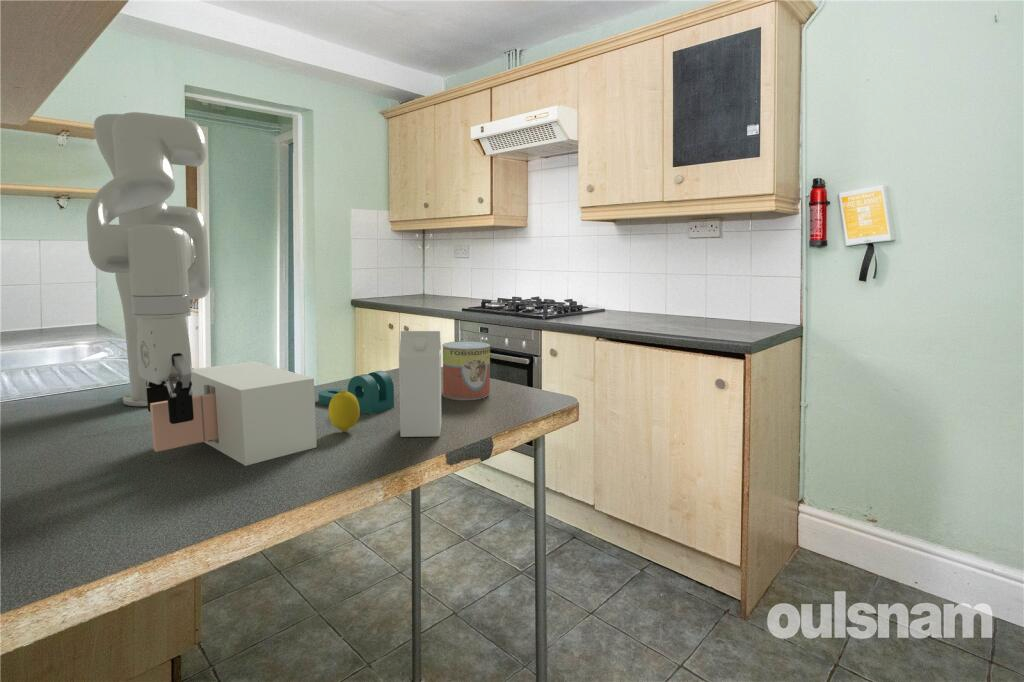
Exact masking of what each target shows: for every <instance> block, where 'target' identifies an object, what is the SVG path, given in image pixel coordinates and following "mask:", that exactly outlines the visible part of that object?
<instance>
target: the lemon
mask: <svg viewBox="0 0 1024 682" xmlns="http://www.w3.org/2000/svg"><path fill="white" fill-rule="evenodd" d="M360 413H361V412H360V408H359V403H358V400H357V398H356V397H355V396H354V395H353V394H352V393H350V392H347V391H346V390H342V391H341V392H339V393H337V394H336V395H334V396H333V398H332V399H331V401H330V404H329V406H328V418H329V421H330V423H331V425H332V426H333V427H335V428H337V429H339V430H341V432H342V433H343V432H344V433H346V432H348V431H349V429H351V428H353V427H354V426H355V425H356V424H357V423H358V421H359V418H360Z"/></svg>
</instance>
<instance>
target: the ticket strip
mask: <svg viewBox="0 0 1024 682" xmlns="http://www.w3.org/2000/svg"><path fill="white" fill-rule="evenodd" d="M192 400H193V414H194V419H193V420H192V421H187V422H182V423H176V424H171V423H170V422H169V411H168V401H162V402H155V403H150V411H151V412H150V422H151V434H152V443H153V444H152V445H153V451H154V452H156V453H157V452H161V451H166V450H171V449H175V448H176V449H177V448H180V447H185V446H189V445H194V444H199V443H205V442H204V441H209V440H213V439H218V423H217V408H216V393H211V394H205V395H199V396H193V397H192Z"/></svg>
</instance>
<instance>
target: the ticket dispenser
mask: <svg viewBox="0 0 1024 682" xmlns="http://www.w3.org/2000/svg"><path fill="white" fill-rule="evenodd" d="M191 382H192V386H191V388H192V397H193V396H199V395H205V394H211V393H216V408H217V423H218V439H213V440H209V441H204V442H203V443H205V444H206V445H208V446H211V447H212V448H214V450H215V449H216V450H217V451H219V452H220V453H223V454H224V455H226V456H228V457H230V458H231V459H233V460H234V461H236V462H238V463H240V464H241V465H243V466H245V467H247V466H251V465H254V464H258V463H261V462H265V461H269V460H273V459H276V458H280V457H286V456H288V455H292V454H296V453H300V452H303V451H308V450H311V449H314V448H317V446H318V445H317V423H316V422H317V421H316V399H315V378H314V377H310V376H307V375H303V374H301V373H297V372H292V371H290V370H287V369H284V368H279V367H276V366H272V365H270V364H266V363H263V362H259V361H256V360H255V361H254V360H253V361H246V362H240V363H237V362H236V363H231V364H223V365H221V364H220V365H215V366H207V367H206V366H205V367H199V368H192V376H191Z"/></svg>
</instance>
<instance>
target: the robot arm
mask: <svg viewBox="0 0 1024 682" xmlns="http://www.w3.org/2000/svg"><path fill="white" fill-rule="evenodd" d="M93 132H94V137H95V140H96V144H97V146H98V149H99V151H100V153H101V155H102V157H103V159H104V160H105V163H106V164H107V166H108V168H109V170H110V173H111V175H112V179H111V180H109V181H108V182H106V183H105V184H104V185H103V186H102V187H100V188H99V190H97V192H96V193H95V195H94V196H93V197H92V198H91V200H90V202H89V205H88V207H87V211H86V233H87V237H86V238H87V247H88V248H87V249H88V254H89V257H90V261H91V263H92V264H93V266H95V267H96V268H97V269H98V270H100V271H102V272H105V273H111V274H114V276H115V283H116V286H117V290H118V293H119V296H120V300H121V306H122V310H123V311H122V312H123V319H124V320H123V321H124V329H125V330H124V331H125V343H126V354H127V362H128V364H127V365H128V376H129V387H130V393H129V394H127V395H125V396H124V397H122V404H124V405H126V406H129V407H147V411H148V412H150V413H151V411H150V403H155V402H162V401H168V411H169V422H170V423H171V424H176V423H182V422H187V421H192V420H193V419H194V414H193V400H192V388H191V386H192V382H191V376H192V369H193V367H192V366H193V363H192V352H191V344H190V343H191V342H190V336H189V335H190V334H189V329H188V328H189V327H188V324H187V323H188V322H187V317H191V313H192V312H191V300H200V299H203V298H205V297H206V296H208V294H209V292H210V286H211V285H210V283H211V281H210V279H211V276H210V264H209V263H210V260H209V246H208V244H209V243H208V231H207V225H206V221H205V218H204V215H203V214H202V213H201V212H200V210H198V209H196V208H194V207H190V206H181V205H180V206H179V205H178V206H177V205H168V204H167V203H166V200H168V199H169V198H170V197H171V196H172V195H173V194H174V191H175V189H176V181H175V175H174V171H173V165H177V166H186V167H187V166H188V167H195V168H196V167H200V166H202V165H203V164H204V163H205V160H206V156H207V142H206V137H205V134H204V132H203V129H202V127H201V126H200V125H199V124H198V123H197V122H196V121H194V120H192V119H189V118H185V117H177V116H173V115H172V116H169V115H164V114H154V113H147V112H138V111H133V112H126V113H125V112H124V113H107V114H100V115H99V116H97V117H96V118H95V120H94V123H93ZM116 218H118V224H110V223H111V222H112V221H114V220H115V219H116Z"/></svg>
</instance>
